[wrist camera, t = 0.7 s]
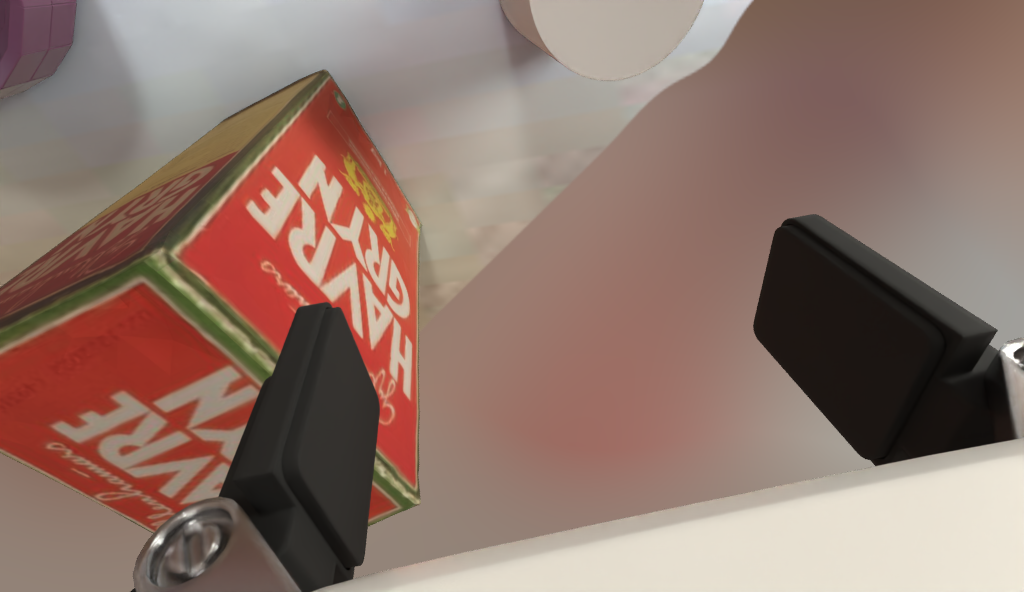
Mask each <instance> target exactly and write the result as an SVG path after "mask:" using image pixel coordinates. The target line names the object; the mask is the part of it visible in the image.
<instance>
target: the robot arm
mask: <svg viewBox="0 0 1024 592" xmlns="http://www.w3.org/2000/svg"><path fill="white" fill-rule="evenodd" d="M753 327H754V333H755V335H756V337H757V339H758V340H759V341H760V343H762V345H763V346H764V347H765V348H766V349H767V350H768V352H769V353H770V354H771V355H772V356H773V357H774V358H775V360H776V361H777V362H778V363H779V364H780V365H781V366H782V368H783V369H784V370H785V371H786V372H787V373H788V374H789V376H790V377H791V378H792V379H793V380H794V381H795V382H796V383H797V384H798V386H799V387H800V388H801V389H802V390H803V392H804V393H805V394H806V395H807V396H808V397H809V398H810V399H811V401H812V402H813V403H814V404H815V405H816V406H817V407H818V409H819V410H820V411H821V412H822V413H823V414H824V415H825V416H826V418H827V419H828V420H829V421H830V422H831V423H832V425H833V426H834V427H835V428H836V429H837V430H838V431H839V433H840V434H841V435H842V436H843V437H844V438H845V439H846V440H847V442H848V443H849V444H850V445H851V446H852V447H853V448H854V450H855V451H856V452H857V453H858V454H859V455H860V456H861V457H863V458H865V459H868V460H871V461H872V463H873V464H874V465H875V467H870V468H865V469H860V470H855V471H850V472H845V473H840V474H835V475H830V476H825V477H820V478H815V479H811V480H805V481H800V482H796V483H791V484H786V485H781V486H777V487H771V488H767V489H762V490H757V491H752V492H747V493H742V494H738V495H733V496H728V497H723V498H718V499H714V500H709V501H704V502H699V503H694V504H690V505H685V506H680V507H676V508H670V509H666V510H661V511H656V512H651V513H646V514H642V515H637V516H632V517H627V518H623V519H618V520H613V521H608V522H604V523H599V524H594V525H590V526H585V527H581V528H576V529H571V530H566V531H561V532H557V533H552V534H548V535H543V536H538V537H534V538H529V539H524V540H519V541H515V542H510V543H505V544H501V545H496V546H491V547H487V548H482V549H477V550H472V551H468V552H464V553H459V554H455V555H451V556H446V557H443V558H438V559H434V560H429V561H425V562H421V563H416V564H412V565H408V566H404V567H400V568H395V569H390V570H386V571H382V572H377V573H373V574H370V575H366V576H363V577H359V578H355V579H353V575H354V567H355V566H360V565H362V563H363V560H364V555H365V547H366V538H367V529H368V519H369V510H370V501H371V491H372V482H373V473H374V463H375V454H376V444H377V435H378V426H379V416H380V403H379V398H378V395H377V392H376V390H375V388H374V385H373V383H372V380H371V378H370V376H369V373H368V371H367V368H366V366H365V363H364V361H363V359H362V356H361V354H360V351H359V349H358V347H357V344H356V342H355V339H354V337H353V335H352V332H351V330H350V327H349V325H348V322H347V320H346V318H345V315H344V313H343V311H342V309H341V308H340V307H334V308H333V307H332V305H331V304H330V303H329V302H323V303H317V304H312V305H306V306H301V307H298V309H297V311H296V313H295V316H294V319H293V321H292V324H291V327H290V329H289V332H288V334H287V337H286V340H285V342H284V345H283V348H282V350H281V353H280V356H279V358H278V361H277V363H276V366H275V369H274V371H273V374H272V376H270V377H268V378H267V379H266V380H265V381H264V383H263V385H262V387H261V389H260V392H259V394H258V397H257V399H256V402H255V404H254V407H253V410H252V412H251V415H250V417H249V420H248V422H247V425H246V427H245V430H244V432H243V435H242V437H241V440H240V443H239V445H238V448H237V450H236V453H235V455H234V458H233V460H232V463H231V465H230V468H229V471H228V473H227V476H226V478H225V481H224V483H223V486H222V488H221V491H220V493H219V496H218V497H215V498H207V499H204V500H201V501H198V502H196V503H193V504H190V505H189V506H187V507H185V508H184V509H182V510H180V511H179V512H177V513H175V514H174V515H173V516H171V517H170V518H169V519H168V520H167V521H166V522H164V523H163V524H162V525H161V526H160V527H159V528H158V529H157V530H156V531H155V532H154V534H153V535H152V536H151V537H150V538H149V539H148V541H147V542H146V543H145V545H144V547H143V549H142V550H141V552H140V554H139V556H138V558H137V560H136V564H135V568H134V572H133V579H134V587H135V588H134V589H133V590H132V591H131V592H1024V338H1018V339H1014V340H1011V341H1007V342H1006V343H1005V344H1004V345H1003V346H1002V347H1001V348H1000V350H999V351H998V350H996V349H995V348H993V347H992V346H990V345H989V343H990V342H991V340H992V339H993V337H994V335H995V334H996V332H997V329H995V328H994V327H992V326H991V325H989V324H987V323H986V322H984V321H983V320H981V319H980V318H978V317H976V316H975V315H973V314H972V313H970V312H969V311H967V310H966V309H964V308H963V307H961V306H959V305H958V304H956V303H955V302H953V301H952V300H950V299H949V298H947V297H945V296H944V295H942V294H941V293H939V292H938V291H936V290H934V289H933V288H931V287H930V286H928V285H927V284H925V283H924V282H922V281H920V280H919V279H917V278H916V277H914V276H913V275H911V274H910V273H908V272H906V271H905V270H903V269H902V268H900V267H899V266H897V265H896V264H894V263H892V262H891V261H889V260H888V259H886V258H885V257H883V256H881V255H880V254H878V253H877V252H875V251H874V250H872V249H871V248H869V247H867V246H866V245H865V244H863V243H861V242H860V241H858V240H857V239H855V238H854V237H852V236H851V235H849V234H847V233H846V232H844V231H843V230H841V229H840V228H838V227H836V226H835V225H833V224H832V223H830V222H829V221H827V220H826V219H824V218H823V217H821V216H819V215H816V214H813V215H807V216H801V217H795V218H790V219H787V220H785V221H784V222H783V223H782V225H781V227H779V228H777V230H776V231H775V234H774V237H773V241H772V245H771V250H770V254H769V258H768V263H767V267H766V272H765V276H764V280H763V284H762V289H761V293H760V298H759V302H758V306H757V311H756V315H755V319H754V325H753Z"/></svg>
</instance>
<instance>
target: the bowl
mask: <svg viewBox="0 0 1024 592" xmlns="http://www.w3.org/2000/svg"><path fill="white" fill-rule="evenodd" d="M76 5H77V4H76V0H0V99H3V98H6V97H9V96H12V95H16V94H19V93H22V92H24V91H26V90H28V89H29V88H31V87H33V86H35V85H36V84H38V83H40V82H42V81H43V80H45V79H47V78H48V77H50V76H52V75H53V74H54V73H55V71H56V70H57V68H58V66H59V65H60V63H61V62H62V60H63V58H64V57H65V55H66V54H67V52H68V50H69V49H70V47H71V46H72V43H73V33H74V24H75V14H76Z"/></svg>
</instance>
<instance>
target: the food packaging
mask: <svg viewBox="0 0 1024 592" xmlns="http://www.w3.org/2000/svg"><path fill="white" fill-rule="evenodd" d="M421 226H422V224H421V222H420V221H419V219H418V217H417V216H416V214H415V212H414V210H413V209H412V207H411V205H410V204H409V202H408V200H407V199H406V197H405V196H404V194H403V192H402V191H401V189H400V187H399V186H398V184H397V182H396V180H395V179H394V177H393V175H392V173H391V172H390V170H389V168H388V167H387V165H386V163H385V162H384V160H383V158H382V157H381V155H380V154H379V152H378V150H377V149H376V147H375V146H374V144H373V142H372V141H371V139H370V138H369V136H368V135H367V133H366V132H365V130H364V129H363V127H362V125H361V124H360V122H359V120H358V118H357V117H356V115H355V113H354V111H353V110H352V108H351V106H350V105H349V103H348V101H347V99H346V98H345V96H344V95H343V93H342V92H341V90H340V89H339V87H338V86H337V84H336V82H335V81H334V79H333V78H332V77H331V75H330V74H329V72H328V71H326V70H322V71H319V72H316V73H313V74H311V75H309V76H306V77H304V78H302V79H300V80H298V81H296V82H294V83H292V84H290V85H288V86H287V87H285V88H283V89H281V90H279V91H277V92H275V93H273V94H271V95H269V96H267V97H265V98H264V99H262V100H260V101H258V102H256V103H254V104H252V105H250V106H248V107H246V108H245V109H243V110H241V111H239V112H237V113H236V114H234V115H232V116H230V117H228V118H227V119H225V120H224V121H222V122H221V123H220V124H219V125H217V126H216V127H215V128H213V129H212V130H211V131H209V132H208V133H207V134H206V135H204V136H203V137H202V138H200V139H199V140H198V141H196V142H195V143H194V144H192V145H191V146H190V147H189V148H187V149H186V150H185V151H183V152H182V153H181V154H179V155H178V156H177V157H175V158H174V159H173V160H171V161H170V162H169V163H167V164H166V165H165V166H163V167H162V168H161V169H159V170H158V171H157V172H156V173H154V174H153V175H152V176H150V177H149V178H148V179H146V180H145V181H144V182H142V183H141V184H140V185H139V186H137V187H136V188H135V189H133V190H132V191H130V192H129V193H128V194H126V195H125V196H123V197H122V198H121V199H119V200H118V201H117V202H115V203H114V204H112V205H111V206H110V207H108V208H107V209H105V210H104V211H103V212H101V213H100V214H99V215H97V216H96V217H95V218H93V219H92V220H90V221H89V222H88V223H86V224H85V225H84V226H82V227H81V228H80V229H78V230H77V231H76V232H74V233H73V234H72V235H70V236H69V237H68V238H66V239H65V240H64V241H62V242H61V243H60V244H58V245H57V246H56V247H54V248H53V249H52V250H50V251H49V252H48V253H46V254H45V255H44V256H42V257H41V258H39V259H38V260H37V261H35V262H34V263H33V264H31V265H30V266H29V267H27V268H26V269H25V270H23V271H22V272H21V273H19V274H18V275H17V276H15V277H14V278H13V279H11V280H10V281H9V282H7V283H6V284H5V285H3V286H2V287H0V453H2V454H4V455H6V456H8V457H10V458H12V459H14V460H16V461H17V462H19V463H21V464H23V465H25V466H27V467H30V468H31V469H33V470H35V471H38V472H39V473H41V474H43V475H45V476H47V477H49V478H51V479H53V480H55V481H57V482H58V483H60V484H62V485H64V486H66V487H68V488H70V489H72V490H74V491H76V492H78V493H79V494H81V495H83V496H85V497H87V498H89V499H91V500H93V501H95V502H97V503H98V504H100V505H102V506H104V507H106V508H108V509H110V510H112V511H114V512H115V513H117V514H119V515H121V516H123V517H124V518H126V519H128V520H130V521H132V522H133V523H135V524H137V525H139V526H141V527H142V528H144V529H146V530H148V531H150V532H151V533H153V534H154V532H155V531H156V530H157V529H158V528H159V527H160V526H161V525H162V524H163V523H164V522H166V521H167V520H168V519H169V518H170V517H171V516H173V515H174V514H175V513H177V512H179V511H180V510H182V509H184V508H185V507H187V506H189V505H190V504H193V503H196V502H198V501H201V500H204V499H207V498H215V497H218V496H219V493H220V491H221V488H222V486H223V483H224V481H225V478H226V476H227V473H228V471H229V468H230V465H231V463H232V460H233V458H234V455H235V453H236V450H237V448H238V445H239V443H240V440H241V437H242V435H243V432H244V430H245V427H246V425H247V422H248V420H249V417H250V415H251V412H252V410H253V407H254V404H255V402H256V399H257V397H258V394H259V392H260V389H261V387H262V385H263V383H264V381H265V380H266V379H267V378H268V377H270V376H272V374H273V371H274V369H275V366H276V363H277V361H278V358H279V356H280V353H281V350H282V348H283V345H284V342H285V340H286V337H287V334H288V332H289V329H290V327H291V324H292V321H293V319H294V316H295V313H296V311H297V309H298V307H301V306H306V305H312V304H317V303H323V302H329V303H330V304H331V305H332V307H333V308H334V307H340V308H341V309H342V311H343V313H344V315H345V318H346V320H347V322H348V325H349V327H350V330H351V332H352V335H353V337H354V339H355V342H356V344H357V347H358V349H359V351H360V354H361V356H362V359H363V361H364V363H365V366H366V368H367V371H368V373H369V376H370V378H371V380H372V383H373V385H374V388H375V390H376V392H377V395H378V398H379V403H380V416H379V426H378V435H377V444H376V454H375V463H374V473H373V482H372V491H371V501H370V510H369V519H368V526H370V525H373V524H375V523H377V522H379V521H381V520H383V519H386V518H388V517H390V516H392V515H395V514H397V513H399V512H402V511H405V510H407V509H410V508H412V507H414V506H417V505H419V504H421V501H420V490H419V479H418V471H419V369H418V362H419V361H418V360H419V245H420V228H421Z"/></svg>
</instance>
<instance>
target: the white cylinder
mask: <svg viewBox="0 0 1024 592" xmlns="http://www.w3.org/2000/svg"><path fill="white" fill-rule="evenodd" d="M499 1H500V4H501V6H502V9H503V11H504V13H505V15H506V17H507V18H508V20H509V21H510V23H511V24H512V25H513V27H514V28H515V29H516V30H517V31H518V32H519V33H520V34H521V35H523V36H524V37H525V38H527V39H528V40H530V41H531V42H532V43H534V44H535V45H536V46H538V47H539V48H540V49H542V50H543V51H545V52H546V53H547V54H549V55H550V56H551V57H553V58H554V59H556V60H557V61H558V62H560V63H561V64H562V65H564V66H565V67H567V68H568V69H570V70H571V71H573V72H575V73H577V74H579V75H581V76H583V77H587V78H590V79H594V80H601V81H615V80H622V79H626V78H630V77H633V76H636V75H638V74H641V73H643V72H645V71H647V70H649V69H650V68H652V67H654V66H655V65H657V64H658V63H660V62H661V61H662V60H663V59H665V58H666V57H667V56H668V55H669V54H670V53H671V52H672V51H673V50H674V49H675V48H676V47H677V46H678V45H679V43H680V42H681V41H682V40H683V38H684V37H685V36H686V34H687V33H688V31H689V30H690V28H691V27H692V25H693V23H694V21H695V20H696V18H697V16H698V14H699V11H700V9H701V7H702V4H703V2H704V0H499Z"/></svg>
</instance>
